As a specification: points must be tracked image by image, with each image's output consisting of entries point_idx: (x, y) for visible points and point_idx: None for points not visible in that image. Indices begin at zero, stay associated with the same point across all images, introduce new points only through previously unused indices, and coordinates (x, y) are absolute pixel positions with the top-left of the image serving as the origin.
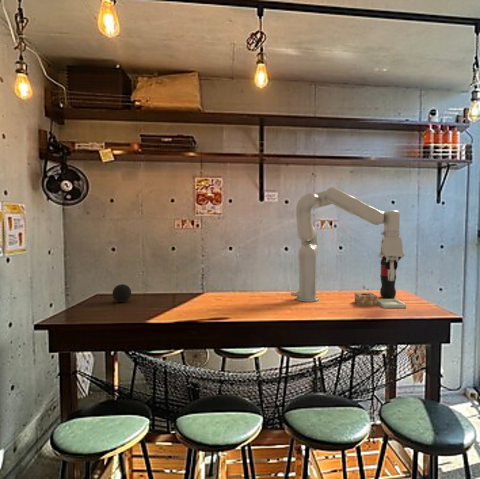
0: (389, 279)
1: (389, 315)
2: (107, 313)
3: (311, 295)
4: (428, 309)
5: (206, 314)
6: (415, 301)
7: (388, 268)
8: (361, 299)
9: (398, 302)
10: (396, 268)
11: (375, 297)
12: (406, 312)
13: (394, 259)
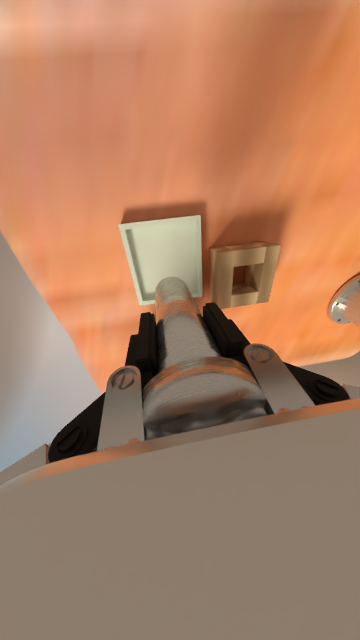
0: (184, 282)
1: (216, 44)
2: None
3: None
4: (38, 205)
5: None
6: (83, 319)
7: (212, 306)
8: (267, 244)
9: (138, 279)
10: (143, 315)
11: (223, 251)
12: (129, 132)
13: (172, 374)
